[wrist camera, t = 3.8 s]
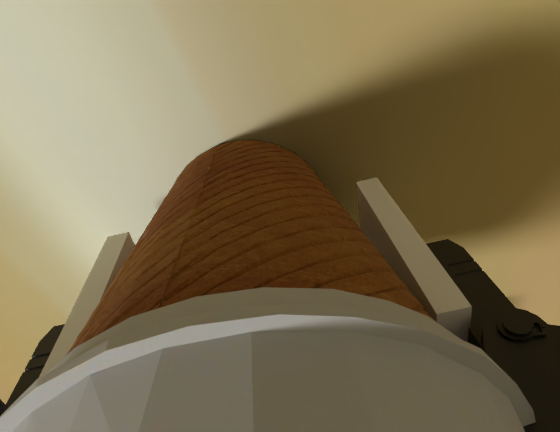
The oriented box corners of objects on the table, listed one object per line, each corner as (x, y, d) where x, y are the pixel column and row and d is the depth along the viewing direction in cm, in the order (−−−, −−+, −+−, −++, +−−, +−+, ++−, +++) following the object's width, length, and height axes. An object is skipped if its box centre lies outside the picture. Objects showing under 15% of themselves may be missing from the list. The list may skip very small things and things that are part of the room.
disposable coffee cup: (237, 32, 13) (253, 229, 3) (409, 203, 17) (688, 553, 7) (76, 224, 16) (-218, 681, 5) (256, 333, 20) (281, 719, 9)
